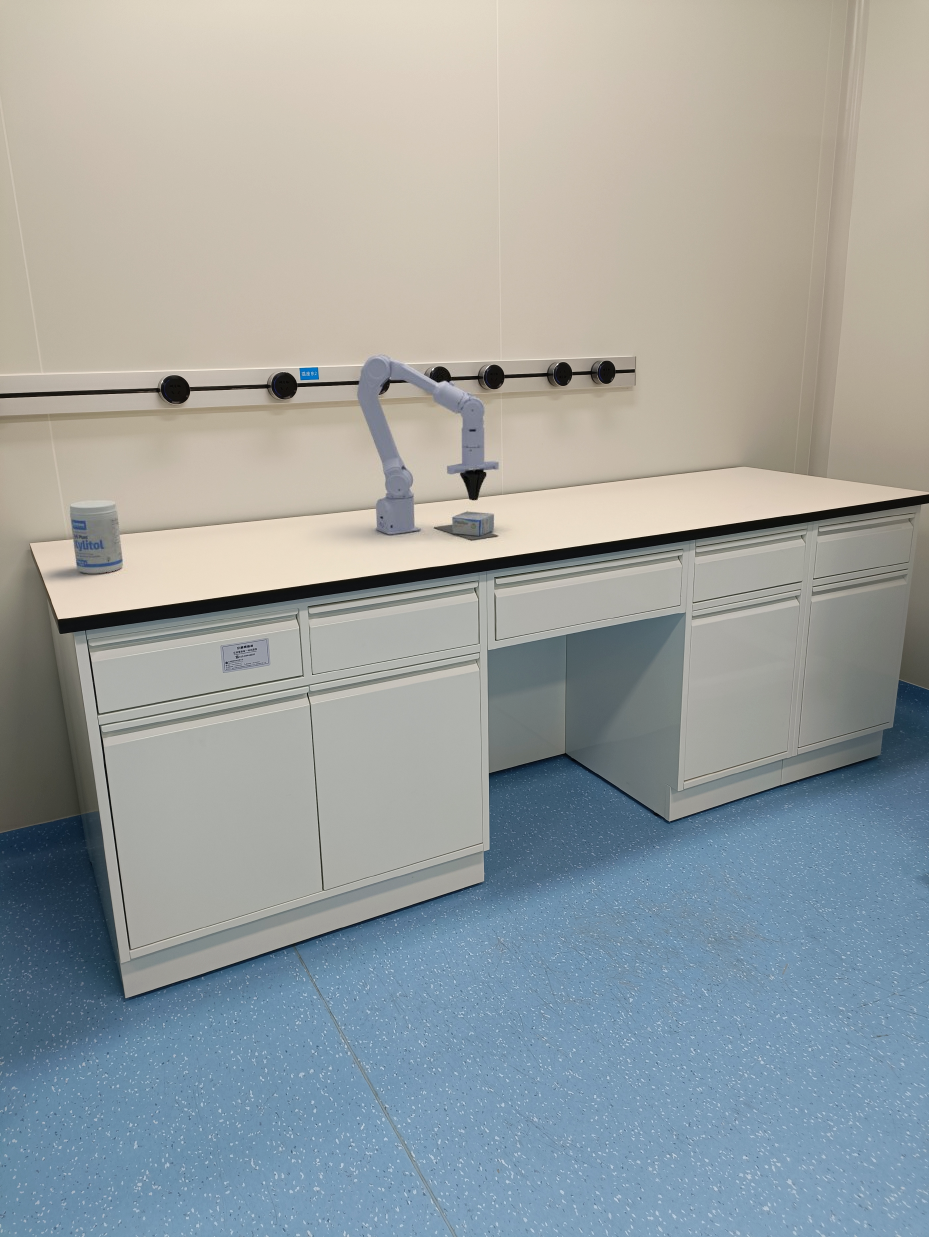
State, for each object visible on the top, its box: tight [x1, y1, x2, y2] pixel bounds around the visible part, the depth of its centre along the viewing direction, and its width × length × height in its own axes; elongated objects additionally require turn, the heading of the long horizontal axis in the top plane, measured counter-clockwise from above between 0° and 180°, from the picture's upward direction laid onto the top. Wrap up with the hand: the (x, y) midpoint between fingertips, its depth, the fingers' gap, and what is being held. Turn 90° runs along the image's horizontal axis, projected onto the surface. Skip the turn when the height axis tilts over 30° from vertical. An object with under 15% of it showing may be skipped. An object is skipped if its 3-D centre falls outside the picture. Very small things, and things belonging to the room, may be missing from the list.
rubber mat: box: [433, 524, 499, 541], centre depth 230 cm, size 8×18×1 cm, turn 33°
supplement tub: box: [69, 499, 124, 575], centre depth 195 cm, size 10×10×15 cm
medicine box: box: [451, 511, 495, 536], centre depth 228 cm, size 8×4×9 cm
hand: (473, 499), depth 230 cm, fingers closed
